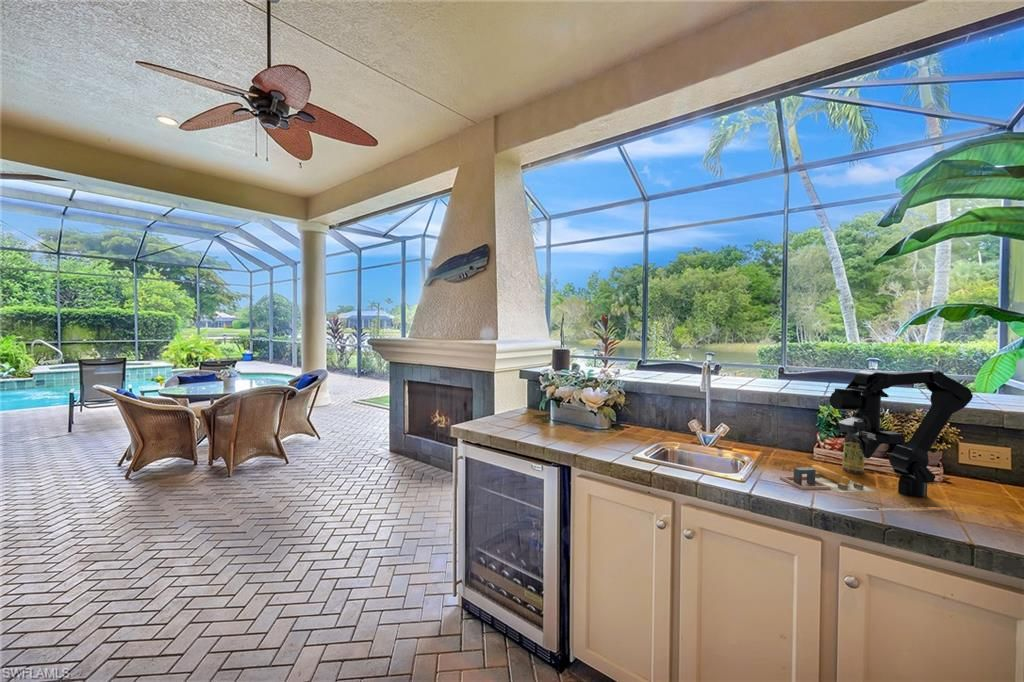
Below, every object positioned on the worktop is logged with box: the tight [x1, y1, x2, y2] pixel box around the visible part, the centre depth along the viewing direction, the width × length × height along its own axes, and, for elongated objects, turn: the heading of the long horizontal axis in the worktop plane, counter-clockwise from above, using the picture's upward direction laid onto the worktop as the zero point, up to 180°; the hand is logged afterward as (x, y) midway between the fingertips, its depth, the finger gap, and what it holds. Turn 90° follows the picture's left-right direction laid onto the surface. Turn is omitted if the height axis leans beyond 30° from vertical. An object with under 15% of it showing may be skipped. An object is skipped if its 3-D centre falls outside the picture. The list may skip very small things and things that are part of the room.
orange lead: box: [810, 464, 851, 485], centre depth 143 cm, size 15×3×3 cm, turn 4°
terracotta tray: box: [779, 475, 832, 491], centre depth 138 cm, size 10×10×2 cm
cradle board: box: [802, 472, 878, 493], centre depth 140 cm, size 17×13×2 cm
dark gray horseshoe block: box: [793, 467, 816, 486], centre depth 138 cm, size 6×2×5 cm, turn 94°
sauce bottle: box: [841, 432, 866, 474], centre depth 152 cm, size 7×6×20 cm
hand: (867, 458), depth 131 cm, fingers closed
